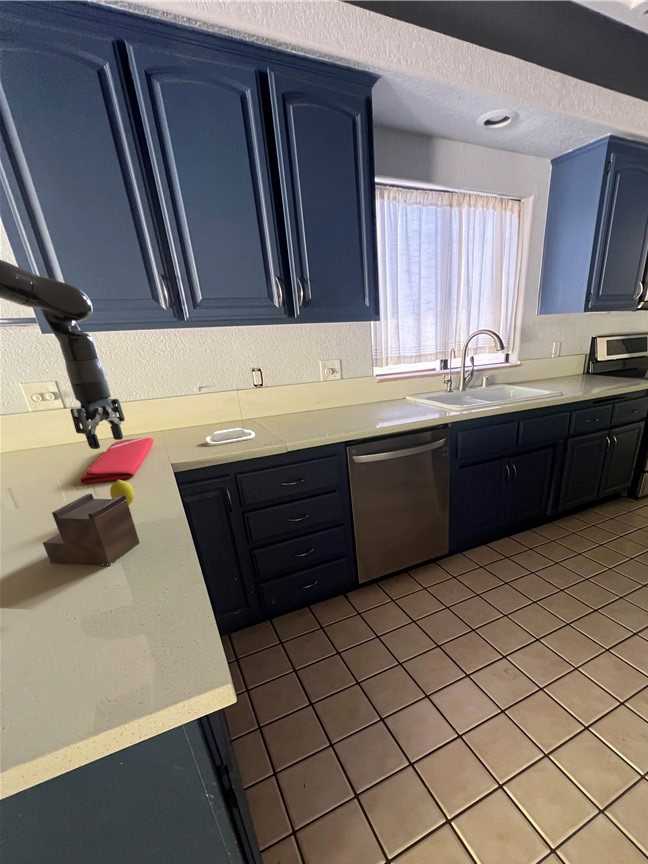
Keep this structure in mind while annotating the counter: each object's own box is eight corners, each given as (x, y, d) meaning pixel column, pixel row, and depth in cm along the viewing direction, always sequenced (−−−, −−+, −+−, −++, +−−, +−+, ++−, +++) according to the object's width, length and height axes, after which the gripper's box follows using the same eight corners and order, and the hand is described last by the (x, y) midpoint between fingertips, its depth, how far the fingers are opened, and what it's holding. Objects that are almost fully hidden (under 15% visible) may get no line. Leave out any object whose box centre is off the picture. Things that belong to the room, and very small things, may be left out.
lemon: (125, 512, 115) (116, 484, 112) (110, 509, 117) (101, 482, 114) (142, 504, 120) (134, 477, 116) (127, 501, 122) (119, 475, 118)
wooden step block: (50, 562, 92) (29, 511, 87) (85, 540, 101) (67, 492, 96) (110, 565, 90) (91, 513, 85) (139, 542, 99) (125, 494, 94)
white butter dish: (209, 449, 172) (208, 441, 170) (203, 441, 177) (202, 432, 175) (257, 441, 183) (257, 433, 180) (250, 432, 188) (250, 425, 185)
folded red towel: (79, 484, 135) (76, 473, 133) (113, 449, 171) (110, 440, 169) (134, 478, 139) (131, 467, 138) (156, 445, 175) (154, 436, 173)
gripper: (95, 375, 111) (113, 436, 118) (50, 383, 98) (73, 451, 105) (121, 375, 110) (138, 437, 117) (79, 383, 97) (101, 452, 104)
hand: (107, 443), depth 111 cm, fingers open, 8 cm apart
